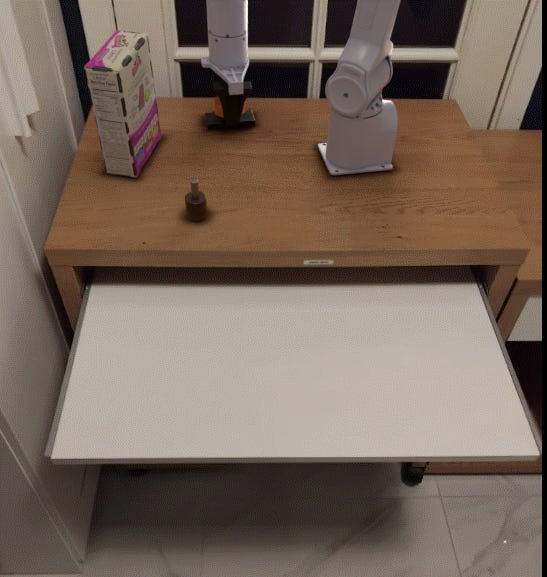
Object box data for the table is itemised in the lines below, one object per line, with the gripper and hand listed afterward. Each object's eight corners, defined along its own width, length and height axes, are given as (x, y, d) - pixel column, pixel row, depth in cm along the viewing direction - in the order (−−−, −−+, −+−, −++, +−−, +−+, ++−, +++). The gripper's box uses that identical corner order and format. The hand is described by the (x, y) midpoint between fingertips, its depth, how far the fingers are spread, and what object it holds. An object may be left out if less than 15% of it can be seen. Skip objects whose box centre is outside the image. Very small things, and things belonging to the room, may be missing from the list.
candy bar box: (131, 133, 99) (115, 28, 87) (162, 138, 98) (150, 32, 86) (103, 174, 91) (81, 65, 79) (136, 179, 90) (120, 69, 79)
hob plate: (251, 114, 104) (251, 108, 103) (255, 125, 101) (255, 119, 100) (204, 118, 102) (204, 112, 102) (207, 129, 100) (207, 123, 99)
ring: (241, 101, 102) (241, 92, 101) (246, 116, 99) (246, 107, 98) (211, 103, 102) (211, 94, 100) (216, 119, 98) (215, 109, 97)
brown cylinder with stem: (205, 207, 86) (203, 173, 82) (208, 220, 84) (206, 185, 80) (185, 209, 86) (182, 175, 82) (187, 222, 84) (184, 188, 80)
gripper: (194, 10, 96) (198, 94, 105) (206, 53, 86) (210, 141, 95) (240, 8, 97) (241, 90, 106) (258, 50, 87) (257, 137, 96)
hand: (229, 114), depth 101 cm, fingers closed on ring, 5 cm apart
